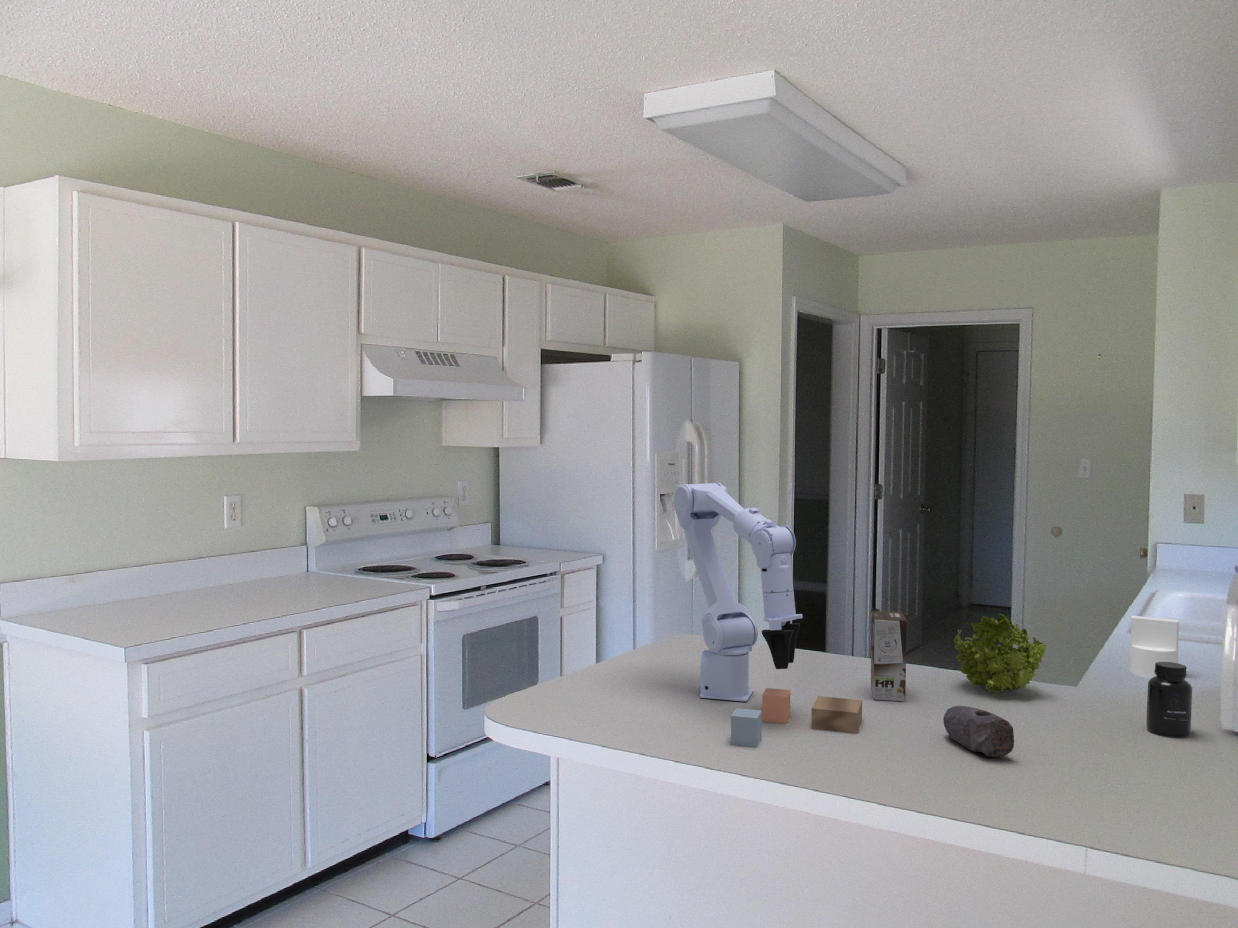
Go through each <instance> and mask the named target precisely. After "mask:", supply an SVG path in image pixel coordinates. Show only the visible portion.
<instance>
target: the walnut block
mask: <svg viewBox="0 0 1238 928" xmlns="http://www.w3.org/2000/svg"><path fill="white" fill-rule="evenodd" d="M862 721H863V699H852V698H843V697H834V696H822V695H818V696H817V697H816V699H815V701H814V703H813V705H812V707H811V729H812V730H819V731H820V730H821V731H829V732H830V731H831V732H839V733H849V734H859V730H860V726H861V724H862Z"/></svg>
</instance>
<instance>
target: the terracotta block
mask: <svg viewBox="0 0 1238 928" xmlns="http://www.w3.org/2000/svg"><path fill="white" fill-rule="evenodd" d="M761 696H762V697H761V698H762V699H761V702H762V703H761V705H762V706H761V707H762V708H761V710H762V722H767V723H775V724H776V723H777V724H785V725H786V724H788V722H789V720H790V718H791V689H782V688H781V689H780V688H770V687H766V688H765V689H764V691H763V693H762V695H761Z"/></svg>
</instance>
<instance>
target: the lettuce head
mask: <svg viewBox="0 0 1238 928" xmlns="http://www.w3.org/2000/svg"><path fill="white" fill-rule="evenodd" d="M970 626H971V627H972V630H973V632H974V634H973V635H972V638H971V637H969V636H966V637H965V638H964V640H962V639H961V634H962V630H963V629H962V628H961V629H957V632H958V633H957V634H955V638H954V639H953V642H954V645H955V646H954V648H955V649H956V651H958V652H959V654H957V656H956V657H955V659H956V660H957V661H958V663H960V664H961V668H959V671H960V672H961V673H962V674H963V675H966V676H965V677H966V679H967V680H968V681H969V682H971V683H972V686H973V685H974V686H976V687H977V686H978V687H979V686H980V687H981V685H982V687H984V686H985V688H986V691H987V692H989V693H993V694H995V693H1002V692H1004V691H1008V692H1013V691H1014V692H1015V691H1017V690H1019V689H1025V690H1026V686H1027V685H1028V684H1029V685H1030V683H1031V682H1032V681H1033V677H1036V675H1037V674H1036V673H1035V672H1036V670H1039V669H1040V665H1039V663H1042V662H1043V659H1042V658H1044V655H1045V652H1046V650H1047V644H1046V643H1044V642H1040V640H1038V639H1036V637H1035V636H1034V637H1032V640H1033V642H1031V643H1029V642H1030V640H1029V639H1030V637H1029V633H1028V631H1027V629H1026V628H1022V629H1021V627H1020V626H1019V624H1017V623H1015V624H1014V623H1013V622H1012V621H1011V620H1009V619H1008V618H1007V617H1006V616H1005V615H1004V614H1001V613H998V616H997V617H996V619H994V618H993V617H992V618H990V617H988V616H986V615H982V616H981V622H974V621H972V622H971V623H970ZM975 633H976V634H975ZM980 637H981V638H980ZM979 639H980V640H979ZM965 640H966V641H965ZM998 643H1000V644H998ZM996 645H998V647H996ZM1014 645H1016V646H1017V648H1015V647H1014ZM1030 681H1031V682H1030Z"/></svg>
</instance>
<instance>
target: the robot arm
mask: <svg viewBox="0 0 1238 928" xmlns="http://www.w3.org/2000/svg"><path fill="white" fill-rule="evenodd" d="M672 504H673V507H674V508H673V509H674V511H675V514H676V516H677V519H678V523H679V524H680V525H679V526H680V528H682V529H683V532H684V533H683V534H684V536H685V539H686V542H687V545H688V549H689V550H690V552H689V553H690V554H691V558H692V560H693V563H694V566H695V570H696V572H697V576H698V579H699V581H700V585H701V588H702V591H703V593H704V596H705V600H706V603H707V606H708V609H707V610H706V611H705V613H704V614H703V616H702V618H701V619H700V622H701V625H702V630H703V640H704V643H705V645H706V647H707V649H704V650H703V651H702V653H701V656H700V668H699V669H700V678H699V679H700V680H699V681H700V690H699V692H700V694H699V698H700V699H701V698H702V699H713V700H724V701H735V702H743V703H744V702H747V701H748V700H749V698H750V697H751V696H752V694H753V693H754V689H753V688H750V687H749V686H750V685H749V681H750V678H749V677H750V673H749V672H750V670H749V669H750V666H749V665H750V661H749V659H750V655H749V654H750V652H752V651H753V647H754V646H755V644H756V643H757V641H758V638H759V637H758V636H759V630H758V626H757V623H756V621H755V620H754V619H753V617H752V616H751V614H750V613H749V610H748V607H746V606H744V605H743V604H742V603H740V602H738V601H736V600H735V599H734V595H733V593H732V590H731V589H732V588H731V587H730V583H729V582H728V578H727V575H726V572H725V570H724V567H723V564H722V560H721V558H720V555H719V552H718V549H717V546H716V544H715V540H714V537H713V536H712V535H713V534H712V528H714V527H716V526H717V525H718V523H719V521H720V518H721V517H723V518H725V520H727V521H729V522H731V523H732V524H733V525H732V527H733V528H732V529H733V531H734V532H735V533H736V534H737V535H739V536H740V537H741V538H742V539H743V540H744V541H746V542H747V543H748V544H750V545H751V550H752V552H753V554H754V556H755V559H756V565H757V567H758V568H759V569H760V581H761V590H762V601H763V610H764V611H763V613H764V615H763V621H764V622H766V623H767V624H769V629H762V630H761V635H762V637H763V638H764V640H765V642H766V644H767V646H768V648H769V651H770V654H771V659H772V661H773V664H774V668H775V670H788V668H789V664H794V660H795V653H796V652H795V650H796V642H797V637H798V634H799V631H800V628H801V623H800V622H793V623H792V621H795V620H799V619H803V618H804V617H803V614H802V613H797V612H796V601H795V592H794V583H793V570H792V559H791V556H792V555H793V554H794V553H795V550H796V546H797V543H796V542H797V541H796V536H795V533H794V531H793V530H792V529H791V528H790V527H789V526H788V525H780V526H779V525H776V524H774V522H773V521H772V520H771V519H768V518H767V517H765V516H764V515H762V514H761V513H760V510H759V509H758V508H757V507H747V508H744V507H743V506H742V505H741V504H739V502H737V501H736V500H735V498H733V497H732V496H730V495H729V491H728V488H727V486H725V485H723V484H722V483H720V482H717V481H715V482H712V483H711V482H710V483H691V484H689V483H688V484H687V483H681V484H679V485H678V486H677V488H676V490H675V492H674V496H673V502H672ZM796 613H797V614H796Z"/></svg>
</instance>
